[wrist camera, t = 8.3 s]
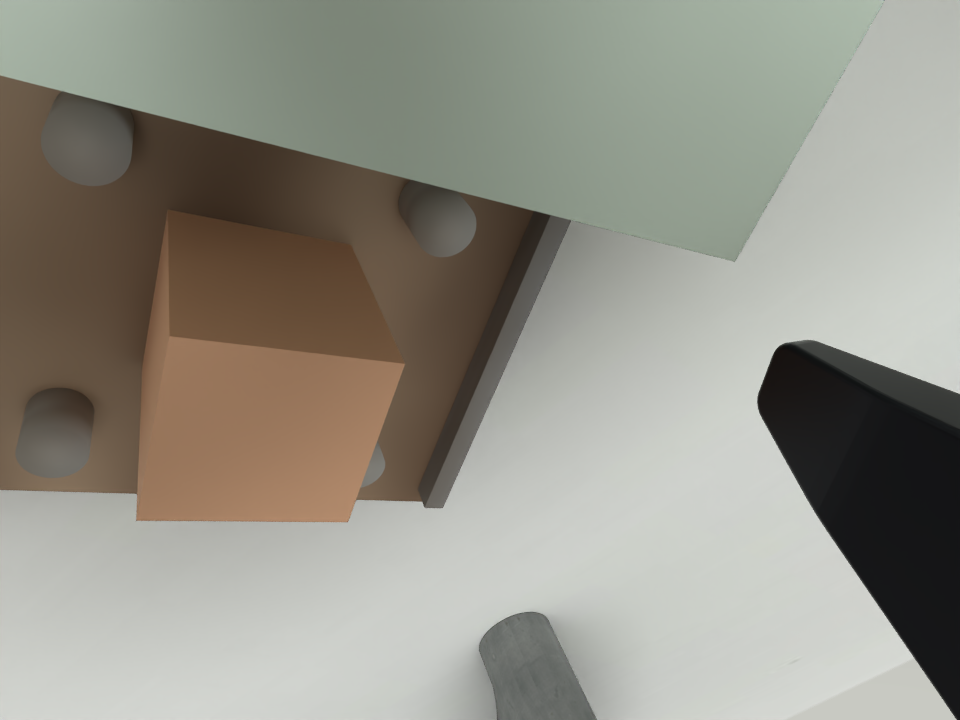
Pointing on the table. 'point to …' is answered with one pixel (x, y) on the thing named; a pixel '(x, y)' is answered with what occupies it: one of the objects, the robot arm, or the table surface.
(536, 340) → the table surface
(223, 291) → the block
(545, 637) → the hip flask
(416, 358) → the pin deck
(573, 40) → the housing
